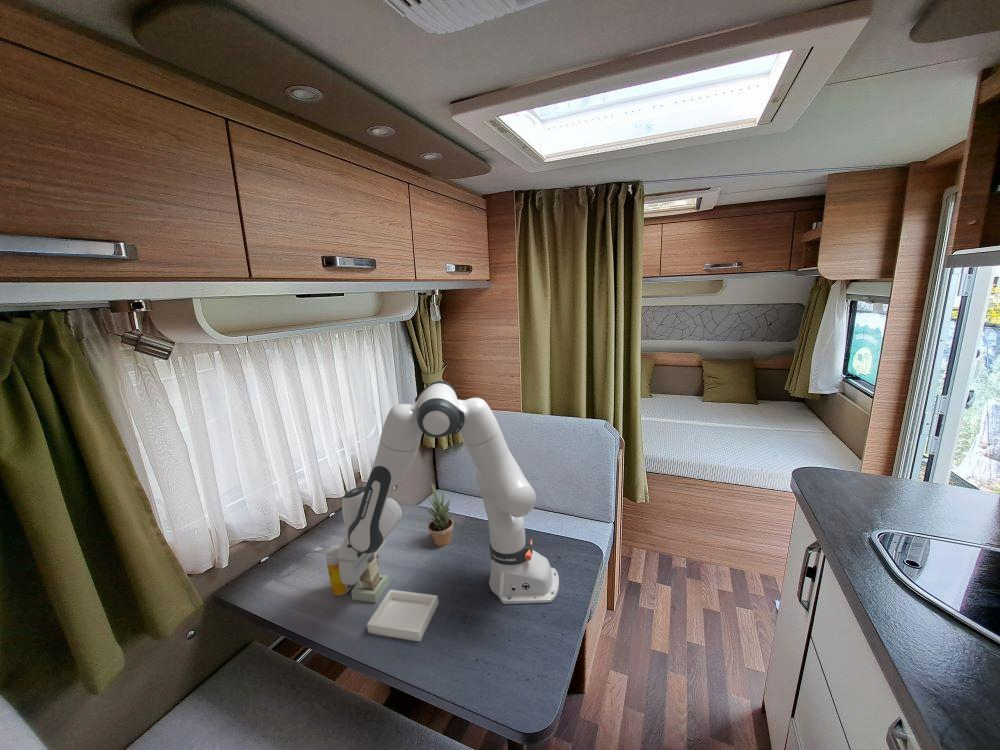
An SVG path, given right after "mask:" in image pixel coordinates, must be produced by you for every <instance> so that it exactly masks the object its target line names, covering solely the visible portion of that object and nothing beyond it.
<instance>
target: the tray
mask: <svg viewBox="0 0 1000 750" xmlns="http://www.w3.org/2000/svg"><path fill="white" fill-rule="evenodd" d="M382 599H383V600H382V601H381V602H380V604H379V606H378V607H377V608H376V610H375V611H374V612H373V615H372V616H371V618H370V619H369V621H368V622H367V623H366V627H367V633H368V634H371V635H377V636H384V637H389V638H395V639H396V638H397V639H401V640H406V641H407V640H408V641H416V642H422V640H423V637H424V635H425V634H426V632H427V629H428V627H429V624H430V622H432V621H431V620H432V619H433V617H434V614H435V613H436V610H437V609H438V606H439V605H440V604H439V596H438V595H436V594H435V595H434V594H427V593H421V592H412V591H403V590H398V589H389V590H388V592H387V593H386V595H385V596H384V598H382Z"/></svg>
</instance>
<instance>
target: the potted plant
mask: <svg viewBox="0 0 1000 750" xmlns="http://www.w3.org/2000/svg"><path fill="white" fill-rule="evenodd" d="M430 483H431V489H432V493H433V496H432V497H431V498H432V500H431V499H430V498H429V496H427V500H428V501H429V503H430V504H431V506H430V508H429V509H428V508H426V511H427V512H428V513H429V514H430V515H431V516H432V517H430V519H431V521H430V522H429V524H428V525H427V527H428V528H427V529H428V532H429V534H430V535H431V537H432V538H433V541H434V543H435V545H436V546H438V547H444V546H447V545H448V544H450V543H451V540H452V532H453V529H454V520H453V519H452V518H451V517H453V515H452V514H451V515H449V512H450V509H451V507H450V502H451V501H450V499H448V500H447V502H446V504H445V500H446V499H445V498H446V496H445V495H446V492H445V490H444V491H443V492H442V496H441V500H440V499H439V496H438V494H437V489H436V484H434V483H433V482H430ZM443 545H444V546H443Z"/></svg>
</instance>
